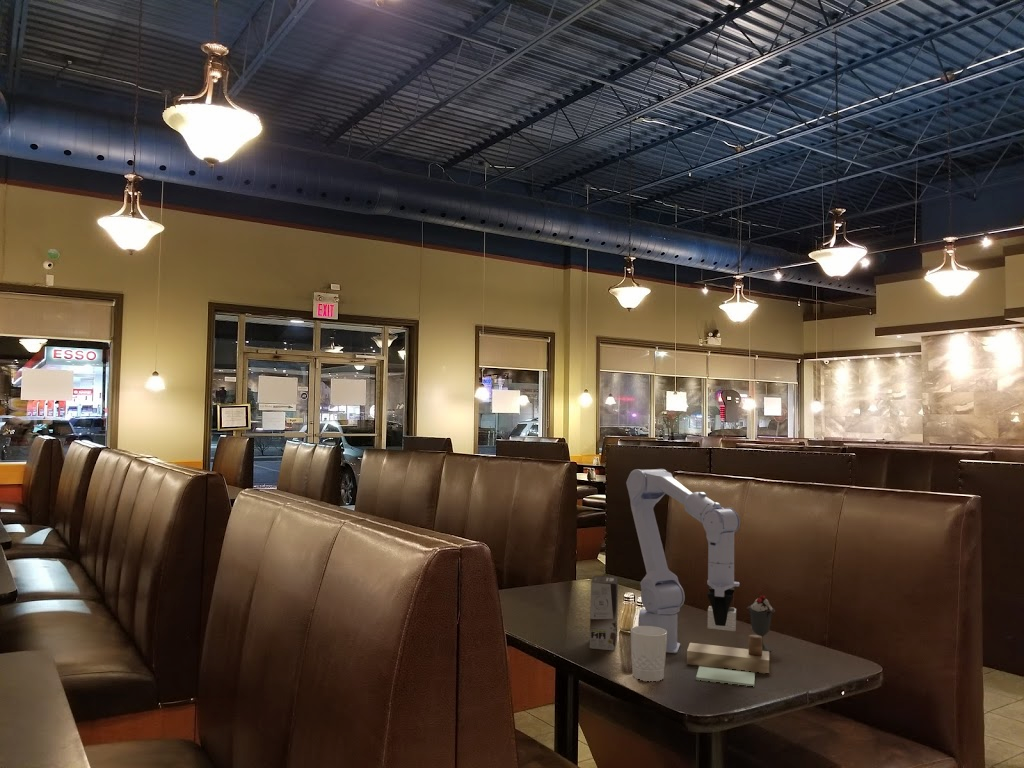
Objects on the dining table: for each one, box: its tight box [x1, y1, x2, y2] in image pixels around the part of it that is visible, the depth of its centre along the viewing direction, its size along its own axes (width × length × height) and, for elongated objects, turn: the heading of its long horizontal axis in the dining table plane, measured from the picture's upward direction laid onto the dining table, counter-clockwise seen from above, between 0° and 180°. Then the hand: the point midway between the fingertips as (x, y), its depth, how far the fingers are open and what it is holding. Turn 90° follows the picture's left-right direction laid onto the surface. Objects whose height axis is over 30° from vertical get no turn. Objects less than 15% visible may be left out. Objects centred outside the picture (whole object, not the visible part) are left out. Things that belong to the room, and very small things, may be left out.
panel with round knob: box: [686, 634, 770, 674], centre depth 176 cm, size 18×7×7 cm, turn 71°
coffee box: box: [589, 575, 619, 651], centre depth 189 cm, size 9×6×16 cm
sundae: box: [746, 589, 776, 653], centre depth 188 cm, size 7×7×15 cm
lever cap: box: [707, 605, 737, 632], centre depth 172 cm, size 6×4×5 cm
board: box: [695, 665, 756, 688], centre depth 166 cm, size 12×8×1 cm, turn 71°
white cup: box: [630, 625, 667, 683], centre depth 166 cm, size 8×8×10 cm
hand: (720, 622), depth 172 cm, fingers closed on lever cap, 4 cm apart
